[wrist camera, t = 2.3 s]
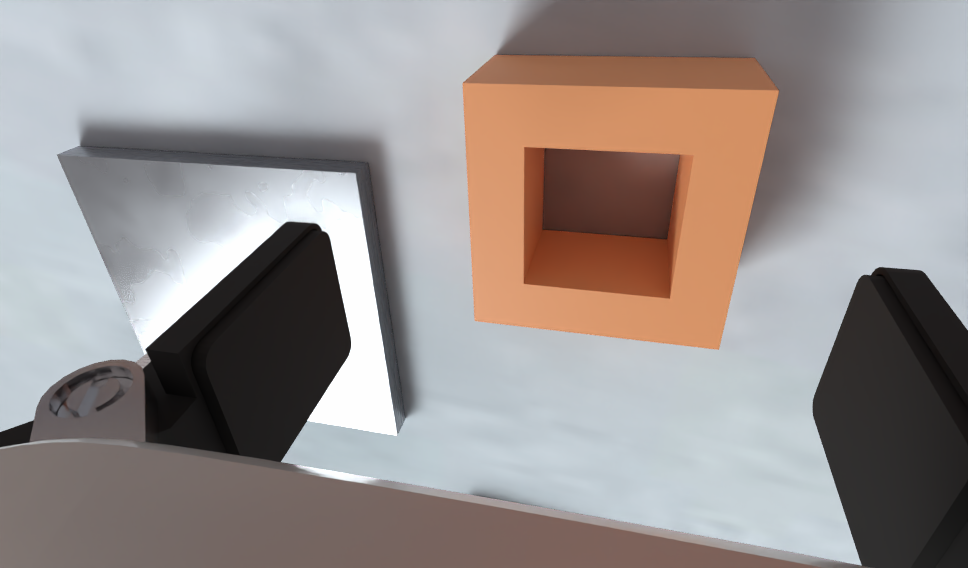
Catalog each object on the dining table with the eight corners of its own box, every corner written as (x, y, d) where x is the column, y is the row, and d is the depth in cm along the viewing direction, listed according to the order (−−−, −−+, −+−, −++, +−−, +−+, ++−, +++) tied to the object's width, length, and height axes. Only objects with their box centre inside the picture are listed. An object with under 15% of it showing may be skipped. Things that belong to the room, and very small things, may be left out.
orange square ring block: (754, 58, 15) (778, 91, 12) (708, 284, 19) (718, 349, 16) (495, 54, 17) (462, 83, 14) (499, 264, 20) (474, 320, 17)
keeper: (367, 162, 19) (261, 254, 14) (405, 419, 26) (341, 549, 20) (78, 146, 22) (-103, 217, 17) (177, 382, 28) (67, 489, 23)
